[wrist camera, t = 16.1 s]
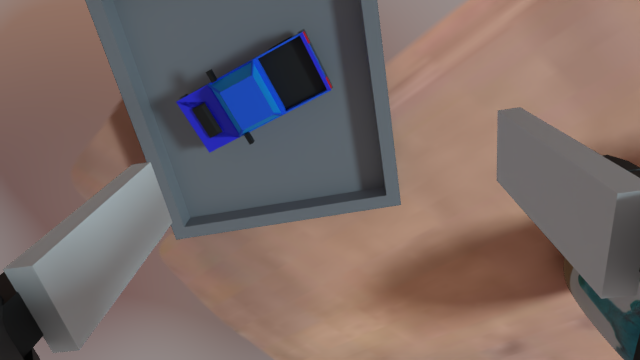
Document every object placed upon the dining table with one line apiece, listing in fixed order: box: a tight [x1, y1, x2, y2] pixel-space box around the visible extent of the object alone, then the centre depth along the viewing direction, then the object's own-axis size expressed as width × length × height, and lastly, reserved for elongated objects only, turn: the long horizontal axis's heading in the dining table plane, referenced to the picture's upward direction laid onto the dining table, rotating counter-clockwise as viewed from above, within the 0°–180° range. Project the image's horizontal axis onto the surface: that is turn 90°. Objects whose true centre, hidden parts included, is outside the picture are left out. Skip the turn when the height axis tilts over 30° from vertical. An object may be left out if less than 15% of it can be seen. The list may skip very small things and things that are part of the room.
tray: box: [85, 0, 401, 240], centre depth 35 cm, size 24×22×2 cm
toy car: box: [176, 29, 333, 153], centre depth 33 cm, size 7×12×5 cm, turn 117°
